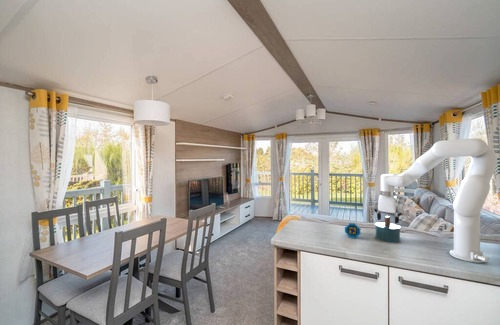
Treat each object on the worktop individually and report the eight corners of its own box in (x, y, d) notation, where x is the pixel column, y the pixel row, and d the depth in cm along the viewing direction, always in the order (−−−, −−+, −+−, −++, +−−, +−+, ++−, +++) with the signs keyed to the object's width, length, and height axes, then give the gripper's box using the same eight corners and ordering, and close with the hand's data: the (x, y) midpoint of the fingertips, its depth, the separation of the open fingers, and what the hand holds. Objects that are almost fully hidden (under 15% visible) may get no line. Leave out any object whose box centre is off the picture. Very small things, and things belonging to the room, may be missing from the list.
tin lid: (406, 230, 130) (406, 219, 130) (385, 231, 128) (385, 220, 128) (388, 223, 143) (388, 213, 143) (369, 224, 142) (369, 214, 141)
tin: (404, 242, 130) (404, 229, 130) (385, 244, 129) (385, 229, 129) (388, 235, 143) (388, 223, 143) (371, 236, 141) (371, 223, 141)
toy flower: (357, 237, 150) (361, 239, 134) (343, 235, 153) (345, 237, 137) (357, 223, 152) (360, 224, 136) (343, 222, 155) (344, 222, 139)
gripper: (406, 195, 131) (406, 223, 131) (375, 191, 145) (375, 217, 145) (401, 196, 126) (401, 225, 126) (370, 193, 140) (370, 219, 140)
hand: (387, 221), depth 135 cm, fingers open, 9 cm apart
